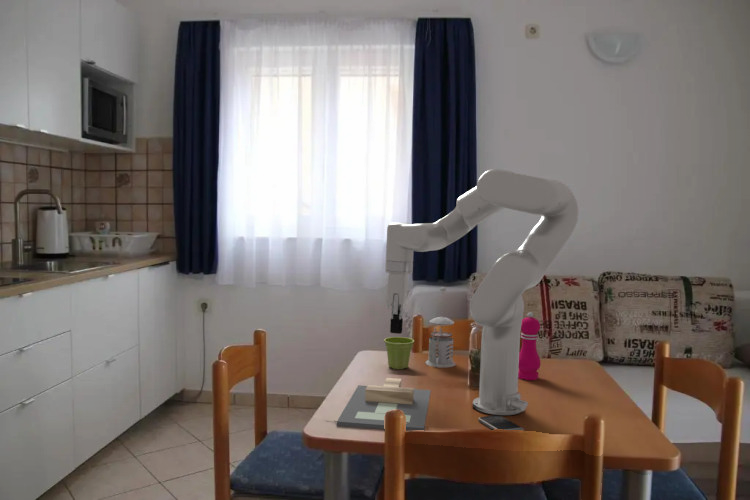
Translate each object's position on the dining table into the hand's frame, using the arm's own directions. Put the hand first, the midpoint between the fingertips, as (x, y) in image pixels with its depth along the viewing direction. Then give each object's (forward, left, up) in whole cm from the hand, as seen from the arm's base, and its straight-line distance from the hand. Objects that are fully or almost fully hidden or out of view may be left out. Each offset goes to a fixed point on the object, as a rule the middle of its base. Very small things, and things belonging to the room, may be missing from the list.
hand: (396, 332), depth 177 cm
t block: (-8, +8, -15) cm, 19 cm away
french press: (+13, -29, -16) cm, 35 cm away
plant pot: (+17, -15, -16) cm, 27 cm away
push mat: (-14, +13, -15) cm, 25 cm away
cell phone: (-38, -1, -16) cm, 42 cm away
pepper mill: (-13, -41, -16) cm, 46 cm away
